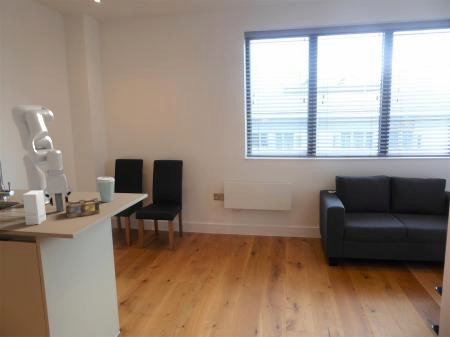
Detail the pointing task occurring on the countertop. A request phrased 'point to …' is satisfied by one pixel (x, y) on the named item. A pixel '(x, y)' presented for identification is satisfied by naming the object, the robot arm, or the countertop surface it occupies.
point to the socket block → (82, 207)
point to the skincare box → (34, 207)
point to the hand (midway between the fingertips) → (59, 204)
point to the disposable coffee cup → (106, 188)
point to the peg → (59, 202)
